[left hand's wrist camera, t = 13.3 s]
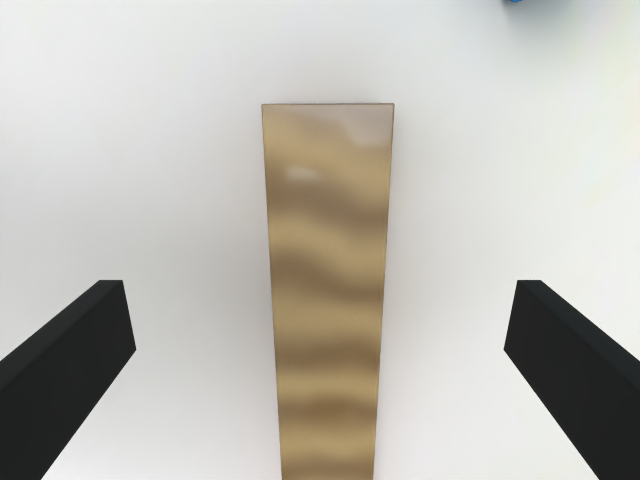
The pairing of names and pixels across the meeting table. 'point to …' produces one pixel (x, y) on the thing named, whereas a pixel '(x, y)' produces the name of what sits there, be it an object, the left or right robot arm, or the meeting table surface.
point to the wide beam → (327, 279)
